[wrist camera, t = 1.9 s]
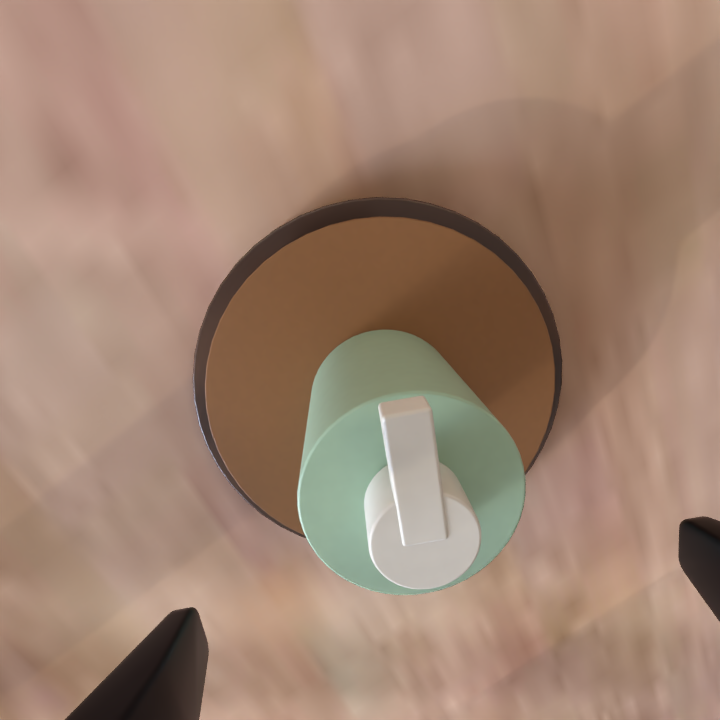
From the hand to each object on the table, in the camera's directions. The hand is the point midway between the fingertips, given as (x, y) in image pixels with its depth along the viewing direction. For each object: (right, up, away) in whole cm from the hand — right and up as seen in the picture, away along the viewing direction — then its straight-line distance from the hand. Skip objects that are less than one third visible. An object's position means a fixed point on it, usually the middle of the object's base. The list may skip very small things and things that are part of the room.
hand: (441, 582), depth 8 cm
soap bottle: (-1, +3, +10) cm, 11 cm away
